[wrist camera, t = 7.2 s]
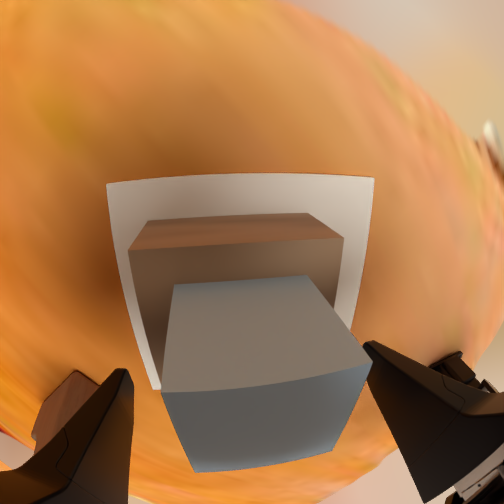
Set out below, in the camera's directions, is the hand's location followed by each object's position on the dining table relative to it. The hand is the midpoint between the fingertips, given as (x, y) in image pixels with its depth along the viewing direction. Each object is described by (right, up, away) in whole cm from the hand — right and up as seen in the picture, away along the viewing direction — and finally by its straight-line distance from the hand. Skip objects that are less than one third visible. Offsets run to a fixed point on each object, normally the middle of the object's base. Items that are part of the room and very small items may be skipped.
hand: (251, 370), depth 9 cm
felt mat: (0, +1, +6) cm, 7 cm away
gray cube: (0, +1, +2) cm, 2 cm away
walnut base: (-1, +2, +6) cm, 6 cm away
